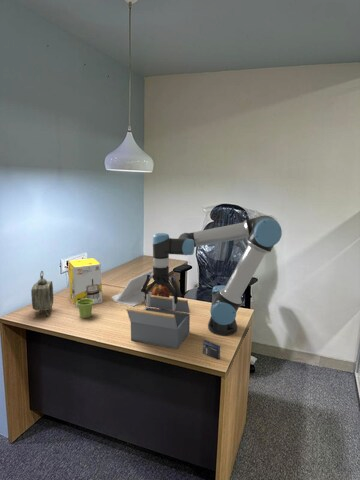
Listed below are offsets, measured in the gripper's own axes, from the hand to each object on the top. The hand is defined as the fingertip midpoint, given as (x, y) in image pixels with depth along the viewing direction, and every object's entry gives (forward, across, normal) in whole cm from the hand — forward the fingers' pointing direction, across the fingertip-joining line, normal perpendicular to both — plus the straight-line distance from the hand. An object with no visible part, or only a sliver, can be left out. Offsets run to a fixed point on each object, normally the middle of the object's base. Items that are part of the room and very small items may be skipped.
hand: (161, 307), depth 162 cm
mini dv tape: (+16, -28, +9) cm, 33 cm away
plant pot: (+15, +49, -8) cm, 52 cm away
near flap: (+1, 0, +11) cm, 11 cm away
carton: (+15, 0, 0) cm, 15 cm away
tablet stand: (+16, +37, -43) cm, 59 cm away
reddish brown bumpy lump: (+15, +13, -31) cm, 37 cm away
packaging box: (+15, +63, -28) cm, 70 cm away
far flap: (+1, 0, -7) cm, 7 cm away
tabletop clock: (+15, +74, -3) cm, 76 cm away
